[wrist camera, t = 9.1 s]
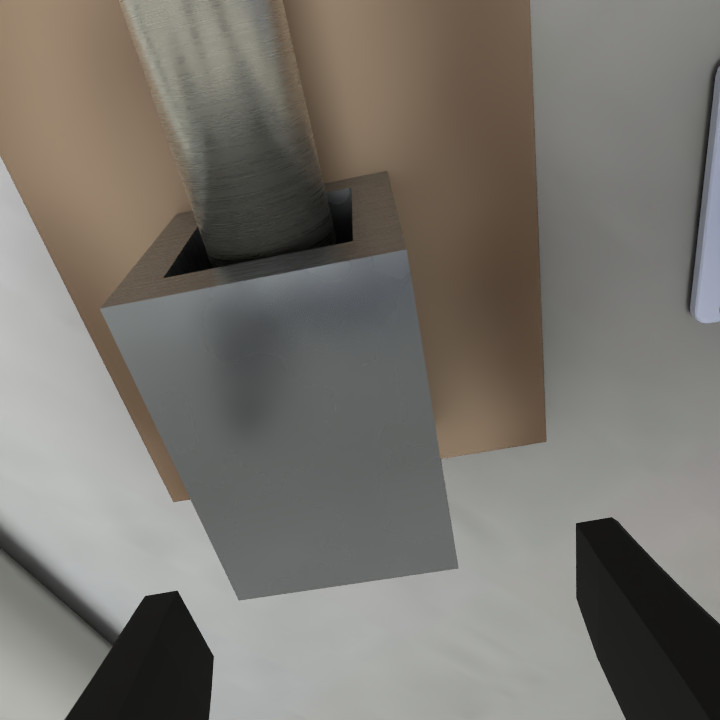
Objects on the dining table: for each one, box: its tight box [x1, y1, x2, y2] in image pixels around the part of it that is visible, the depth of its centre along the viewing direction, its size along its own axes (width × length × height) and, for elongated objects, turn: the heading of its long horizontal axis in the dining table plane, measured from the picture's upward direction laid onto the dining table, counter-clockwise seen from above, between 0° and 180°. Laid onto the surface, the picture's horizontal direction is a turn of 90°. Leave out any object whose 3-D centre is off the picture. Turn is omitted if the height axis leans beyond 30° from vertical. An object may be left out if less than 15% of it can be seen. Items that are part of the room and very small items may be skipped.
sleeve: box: [100, 171, 458, 600], centre depth 16 cm, size 6×9×6 cm, turn 11°
